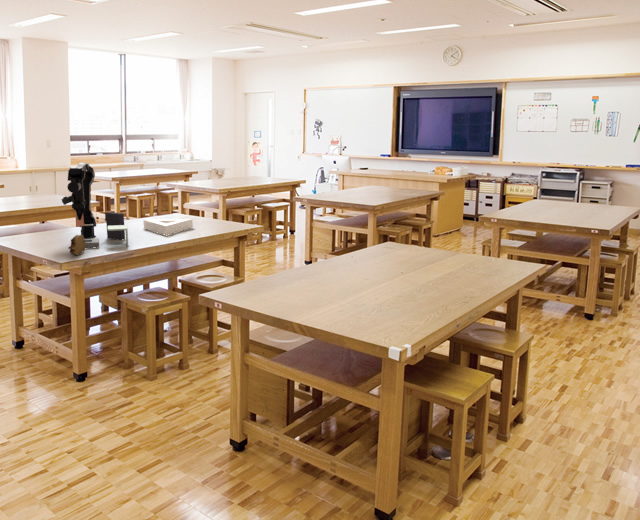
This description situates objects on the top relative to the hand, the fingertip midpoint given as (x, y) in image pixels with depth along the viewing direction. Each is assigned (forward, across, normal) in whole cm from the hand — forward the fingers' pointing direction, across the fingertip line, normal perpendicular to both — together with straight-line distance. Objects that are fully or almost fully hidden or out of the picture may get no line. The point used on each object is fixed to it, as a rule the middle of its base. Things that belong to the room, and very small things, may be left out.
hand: (79, 219), depth 343 cm
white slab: (+14, -29, +53) cm, 62 cm away
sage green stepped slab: (+13, +11, +19) cm, 26 cm away
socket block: (+13, +11, +3) cm, 18 cm away
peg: (+4, 0, 0) cm, 4 cm away
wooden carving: (+14, +32, -1) cm, 35 cm away
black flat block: (+13, -7, +18) cm, 24 cm away
